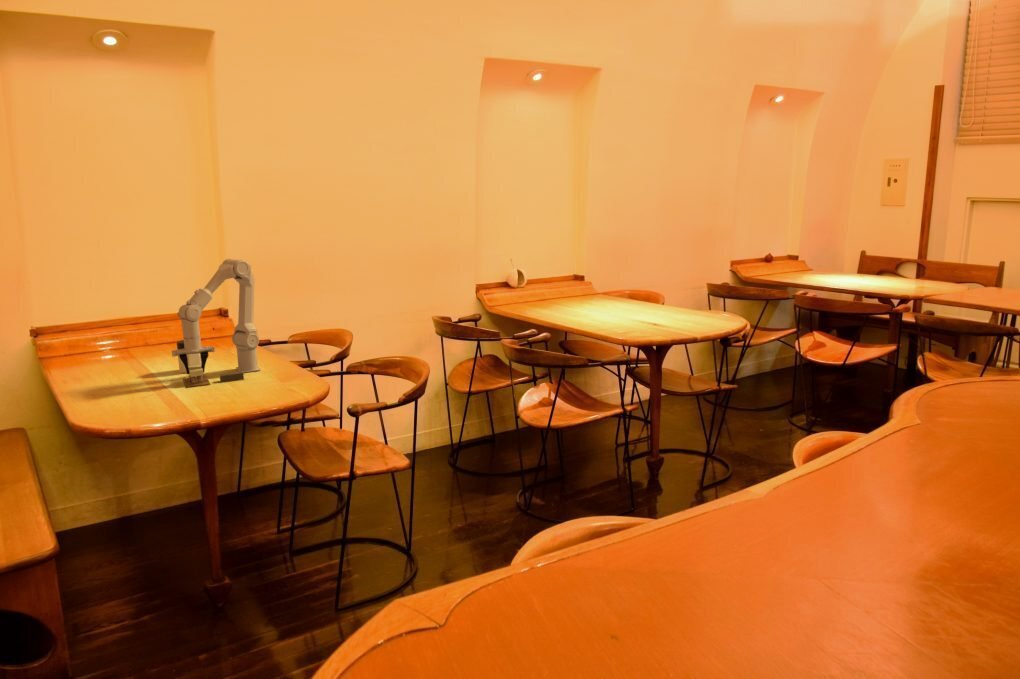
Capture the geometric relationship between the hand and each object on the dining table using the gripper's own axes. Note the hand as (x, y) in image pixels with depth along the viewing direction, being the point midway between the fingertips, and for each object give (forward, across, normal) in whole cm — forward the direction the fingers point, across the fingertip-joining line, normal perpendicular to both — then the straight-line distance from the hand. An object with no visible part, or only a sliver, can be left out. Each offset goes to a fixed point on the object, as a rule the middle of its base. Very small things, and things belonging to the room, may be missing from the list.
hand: (195, 372), depth 274 cm
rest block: (+4, +12, -4) cm, 13 cm away
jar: (+4, 0, +21) cm, 21 cm away
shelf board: (0, 0, 0) cm, 0 cm away
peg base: (+4, 0, 0) cm, 4 cm away
